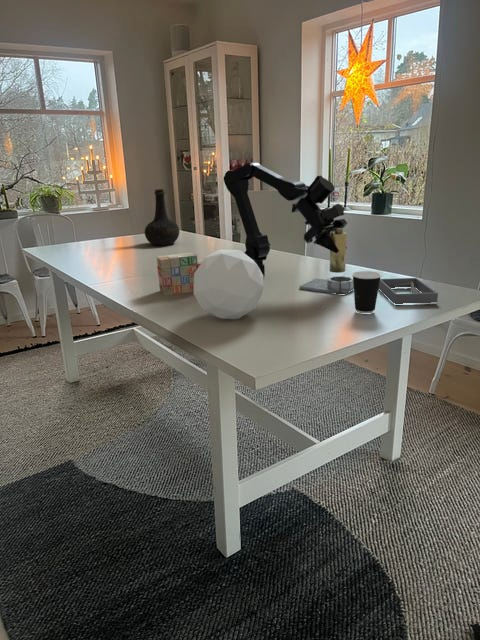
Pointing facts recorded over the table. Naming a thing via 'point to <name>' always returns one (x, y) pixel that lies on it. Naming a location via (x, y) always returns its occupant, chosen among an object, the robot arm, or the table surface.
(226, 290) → the ball
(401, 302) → the tray
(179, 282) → the stack of blocks
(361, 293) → the dixie cup
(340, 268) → the gold capped bottle
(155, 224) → the glass bottle
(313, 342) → the table surface
